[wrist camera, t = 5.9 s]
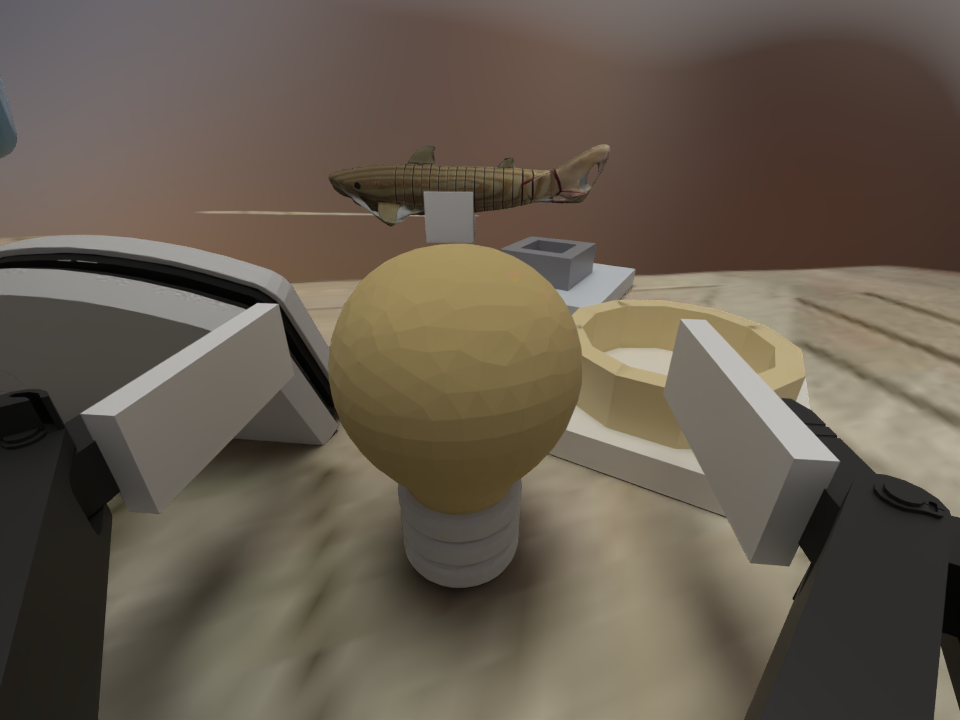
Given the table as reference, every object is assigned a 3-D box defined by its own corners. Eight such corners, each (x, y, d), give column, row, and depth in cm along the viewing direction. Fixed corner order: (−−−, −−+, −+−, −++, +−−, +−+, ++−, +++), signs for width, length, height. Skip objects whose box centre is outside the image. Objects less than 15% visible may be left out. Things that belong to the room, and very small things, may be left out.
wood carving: (607, 245, 54) (620, 145, 49) (326, 244, 55) (311, 144, 50) (592, 231, 62) (602, 143, 57) (347, 230, 63) (336, 143, 58)
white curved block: (367, 387, 24) (308, 219, 17) (339, 464, 21) (250, 299, 13) (91, 370, 26) (-74, 211, 18) (25, 439, 22) (-205, 280, 15)
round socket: (495, 434, 20) (497, 357, 18) (581, 340, 29) (588, 282, 27) (808, 546, 15) (855, 451, 13) (794, 387, 24) (820, 319, 22)
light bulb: (592, 617, 13) (659, 277, 8) (364, 674, 11) (284, 305, 7) (522, 469, 18) (537, 218, 13) (363, 496, 17) (319, 227, 12)
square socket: (450, 300, 36) (448, 252, 34) (514, 266, 45) (516, 227, 44) (591, 330, 31) (598, 274, 29) (632, 285, 40) (640, 240, 38)
